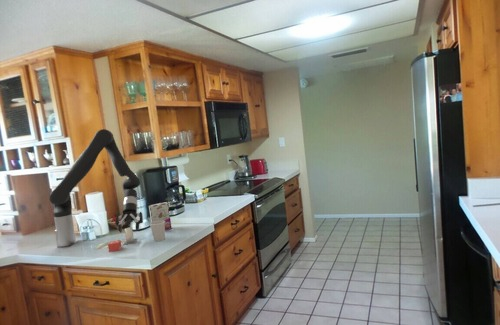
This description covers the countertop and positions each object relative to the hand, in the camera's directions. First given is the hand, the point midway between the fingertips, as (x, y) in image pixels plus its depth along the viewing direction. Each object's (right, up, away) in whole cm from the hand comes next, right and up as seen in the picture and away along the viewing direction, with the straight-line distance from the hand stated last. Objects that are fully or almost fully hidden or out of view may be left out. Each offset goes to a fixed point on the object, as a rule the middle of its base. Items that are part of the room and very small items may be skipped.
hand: (128, 230), depth 184 cm
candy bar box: (+12, -5, +24) cm, 27 cm away
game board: (-6, -8, 0) cm, 10 cm away
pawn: (0, -6, +1) cm, 6 cm away
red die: (-3, -9, -10) cm, 14 cm away
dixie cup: (+16, -6, +3) cm, 17 cm away
